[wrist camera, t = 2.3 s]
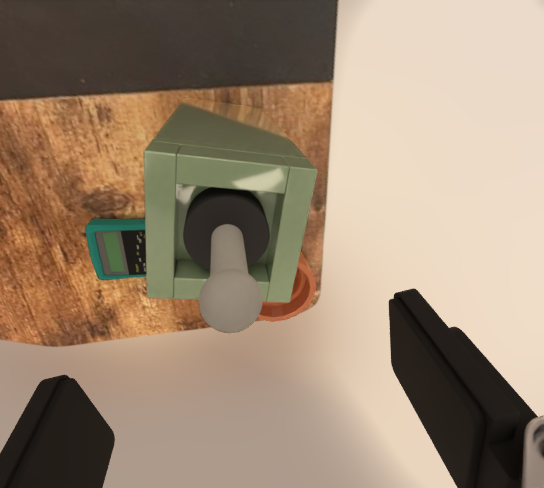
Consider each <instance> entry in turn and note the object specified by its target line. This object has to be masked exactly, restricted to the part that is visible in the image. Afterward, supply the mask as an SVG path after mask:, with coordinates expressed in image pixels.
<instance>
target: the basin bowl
mask: <svg viewBox="0 0 544 488" xmlns="http://www.w3.org/2000/svg"><path fill="white" fill-rule="evenodd" d="M315 289H316V285H315V279H314V275H313V273H312V271H311V268H310V266H309V264H308V262H307V259H306V257H305V256H304V255H303V253H302V252H300V256H299V261H298V266H297V270H296V275H295V280H294V285H293V289H292V294H291V299H290V302H289V303H283V302H267V301H266V302H262V308H261V311H260V314H259V316H258V319H260V320H266V321H281V320H286V319H289V318H291V317H294V316H296V315H298V314H299V313H300V312H302V311H303V310H304V309H306V308H307V306H308V305H309V303H310V302H311V300H312V299H313V297H314V293H315Z"/></svg>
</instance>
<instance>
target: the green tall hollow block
mask: <svg viewBox="0 0 544 488" xmlns="http://www.w3.org/2000/svg"><path fill="white" fill-rule="evenodd" d="M317 171H318V170H317V169H316V167H315V166H314V165H313V164H312V163H311V162H310V161H309V160H308V159H307V158H306V156H305V155H304V154H303V153H302V152H301V151H300V150H299V149H298V147H297V146H296V145H295V144H294V143H293V142H292V141H291V140H290V138H289V137H288V136H287V135H286V134H285V133H284V132H283V131H282V129H281V128H280V127H279V126H278V125H277V124H276V123H275V122H274V120H273V119H272V118H271V117H270V116H269V115H268V114H267V113H266V111H265V110H264V109H263V108H259V107H252V106H245V105H238V104H231V103H224V102H217V101H210V100H203V99H196V98H189V97H185V98H184V100H183V101H182V102H181V104H180V105H179V106H178V107H177V109H176V110H175V111H174V113H173V114H172V115H171V116H170V118H169V119H168V120H167V122H166V123H165V124H164V126H163V127H162V128H161V129H160V131H159V132H158V133H157V135H156V136H155V137H154V138H153V140H152V141H151V142H150V144H149V145H148V146H147V148H146V149H145V150H144V191H145V236H146V281H147V298H167V299H172V298H173V297H174V299H196V300H199V294H200V291H201V288H202V286H203V284H204V283H205V282H206V280H207V279H208V278H209V277H210V270H207V269H205V268H203V267H202V266H200V265H199V264H197V263H196V262H195V261H194V260H193V259H192V258H191V256H190V255H189V254H188V252H187V250H186V248H185V245H184V240H183V231H184V225H185V220H186V214H187V211H188V208H189V206H190V204H191V202H192V201H193V199H194V198H195V197H196V196H197V195H198V194H199V193H201V192H202V191H204V190H206V189H208V188H210V187H216V188H227V189H238V190H248V191H249V192H251V193H252V194H253V195H254V196H255V197H256V198H257V199H258V200H259V202H260V203H261V205H262V207H263V209H264V212H265V216H266V219H267V222H268V225H269V231H270V238H269V243H268V246H267V249H266V251H265V253H264V254H263V256H262V257H261V258H260V259H259V260H258V261H257V262H256V263H255V264H254V265H252V266H251V267H249V268H248V274H249V275H251V276H252V277H253V278H254V279H255V280H256V282H257V283H258V285H259V287H260V289H261V293H262V300H263V301H262V302H266V301H267V302H283V303H289V302H290V299H291V294H292V289H293V285H294V280H295V275H296V270H297V266H298V261H299V256H300V252H301V247H302V242H303V237H304V233H305V228H306V223H307V218H308V214H309V209H310V204H311V200H312V195H313V190H314V185H315V181H316V176H317Z"/></svg>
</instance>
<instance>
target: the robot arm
mask: <svg viewBox="0 0 544 488" xmlns="http://www.w3.org/2000/svg"><path fill="white" fill-rule="evenodd" d="M389 317H390V318H389V319H390V342H391V343H390V344H391V363H392V367H393V370H394V373H395V375H396V377H397V378H398V380H399V382H400V384H401V386H402V387H403V389H404V391H405V393H406V395H407V397H408V398H409V400H410V402H411V404H412V405H413V408H414V409H415V411H416V413H417V414H418V417H419V418H420V420H421V422H422V424H423V426H424V428H425V429H426V431H427V433H428V435H429V436H430V438H431V440H432V442H433V444H434V446H435V448H436V449H437V451H438V453H439V455H440V456H441V459H442V460H443V462H444V464H445V466H446V468H447V469H448V471H449V473H450V475H451V477H452V478H453V480H454V482H455V484H456V486H457V487H458V488H544V416H540V417H538V416H537V415H536V414H535V413H534V412H533V411H532V410H531V409H530V407H529V406H528V405H527V404H526V403H525V402H524V400H523V399H522V398H521V397H520V396H519V395H518V394H517V392H515V390H514V389H513V388H512V387H511V386H510V385H509V384H508V382H507V381H506V380H505V379H504V378H503V377H502V376H501V374H500V373H499V372H498V371H497V370H496V369H495V368H494V366H493V365H492V364H491V363H490V362H489V361H488V360H487V358H486V357H485V356H484V355H483V354H482V353H481V352H480V350H479V349H478V348H477V347H476V346H475V345H474V344H473V343H472V341H471V340H470V339H469V338H468V337H467V336H466V335H465V333H464V332H462V330H460V329H459V328H457V327H451V328H448V326H447V325H446V324H445V323H444V322H443V321H442V319H441V318H440V317H439V316H438V315H437V313H436V312H435V311H434V310H433V309H432V307H431V306H430V305H429V304H428V303H427V302H426V300H425V299H424V298H423V297H422V295H421V294H420V293H419V292H418V291H417V290H416V289H410V290H406V291H402V292H398V293H395V294H394V299H390V300H389ZM114 441H115V438H114V433H113V431H112V429H111V428H110V427H109V425H108V424H107V423H106V421H105V420H104V418H103V417H102V416H101V414H100V413H99V412H98V410H97V409H96V407H95V406H94V405H93V403H92V402H91V401H90V399H89V398H88V396H87V395H86V394H85V392H84V391H83V390H82V388H81V387H80V385H79V384H78V383H77V381H76V380H75V379H73V378H69V377H68V376H67V375H61V376H57V377H53V378H49V379H45V380H43V381H41V382H40V384H39V385H38V386H37V388H36V390H35V392H34V394H33V396H32V397H31V399H30V401H29V403H28V405H27V406H26V408H25V410H24V412H23V414H22V415H21V417H20V419H19V421H18V423H17V424H16V426H15V428H14V430H13V432H12V433H11V435H10V437H9V439H8V441H7V442H6V444H5V446H4V448H3V450H2V451H1V453H0V488H102V487H103V483H104V480H105V476H106V472H107V469H108V465H109V462H110V458H111V454H112V450H113V447H114Z"/></svg>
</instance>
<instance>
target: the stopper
mask: <svg viewBox="0 0 544 488" xmlns="http://www.w3.org/2000/svg"><path fill="white" fill-rule="evenodd" d="M269 238H270V231H269V225H268V222H267V219H266V216H265V212H264V209H263V207H262V205H261V203H260V202H259V200H258V199H257V198H256V197H255V196H254V195H253V194H252V193H251V192H249V191H248V190H238V189H227V188H216V187H210V188H208V189H206V190H204V191H202V192H201V193H199V194H198V195H197V196H196V197H195V198H194V199H193V201H192V202H191V204H190V206H189V208H188V211H187V214H186V220H185V225H184V231H183V240H184V245H185V248H186V250H187V252H188V254H189V255H190V256H191V258H192V259H193V260H194V261H195V262H196V263H197V264H199V265H200V266H202V267H203V268H205V269H207V270H210V277H209V278H208V279H207V280H206V282H205V283H204V284H203V286H202V288H201V291H200V294H199V309H200V312H201V315H202V317H203V318H204V320H205V321H206V322H207V324H208V325H210V326H211V327H212V328H214V329H216V330H218V331H220V332H224V333H235V332H240V331H242V330H244V329H246V328H248V327H249V326H251V325H252V324H253V323H254V322H255V320H256V319H257V318H258V316H259V314H260V311H261V308H262V301H263V300H262V293H261V289H260V287H259V285H258V283H257V282H256V280H255V279H254V278H253V277H252V276H251V275H249V274H248V268H249V267H251V266H252V265H254V264H255V263H256V262H257V261H258V260H259V259H260V258H261V257H262V256H263V254H264V253H265V251H266V249H267V246H268V243H269Z"/></svg>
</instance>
